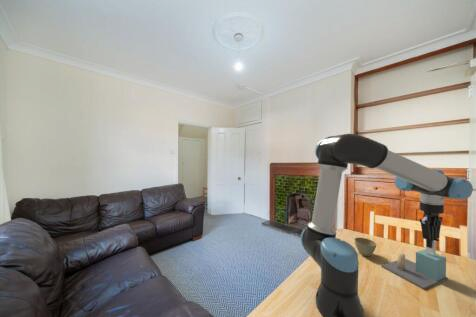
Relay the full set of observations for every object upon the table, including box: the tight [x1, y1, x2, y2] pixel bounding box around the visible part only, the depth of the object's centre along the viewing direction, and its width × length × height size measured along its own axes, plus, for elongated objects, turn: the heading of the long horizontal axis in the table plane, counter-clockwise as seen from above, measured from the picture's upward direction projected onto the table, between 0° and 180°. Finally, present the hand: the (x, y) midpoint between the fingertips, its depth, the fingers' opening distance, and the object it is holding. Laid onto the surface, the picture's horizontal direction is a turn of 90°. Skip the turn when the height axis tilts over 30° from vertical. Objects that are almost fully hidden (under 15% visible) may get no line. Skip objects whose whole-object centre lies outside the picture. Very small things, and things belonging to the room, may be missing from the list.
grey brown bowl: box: [354, 237, 377, 257], centre depth 101 cm, size 10×10×7 cm
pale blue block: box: [415, 249, 447, 281], centre depth 82 cm, size 7×7×9 cm
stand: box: [381, 252, 449, 290], centre depth 84 cm, size 18×16×8 cm
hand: (430, 254), depth 82 cm, fingers closed
